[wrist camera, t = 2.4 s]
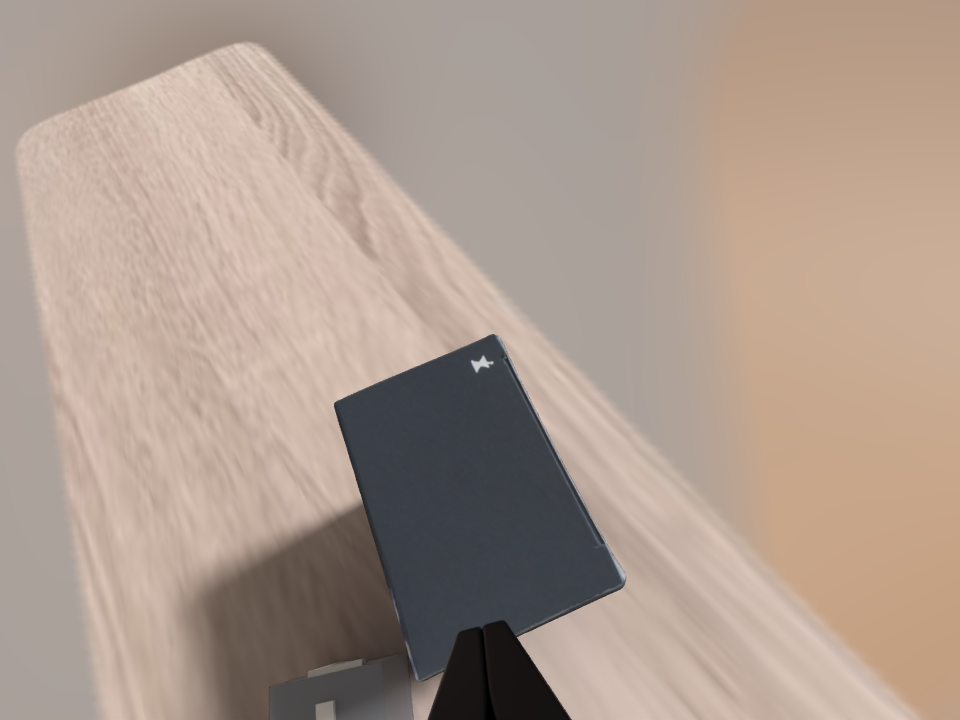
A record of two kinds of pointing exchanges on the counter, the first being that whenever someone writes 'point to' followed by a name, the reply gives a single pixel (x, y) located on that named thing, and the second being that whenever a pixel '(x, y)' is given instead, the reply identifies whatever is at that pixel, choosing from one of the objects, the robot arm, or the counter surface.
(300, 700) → the marked cube seven
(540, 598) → the box
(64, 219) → the counter surface
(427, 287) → the counter surface
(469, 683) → the robot arm
